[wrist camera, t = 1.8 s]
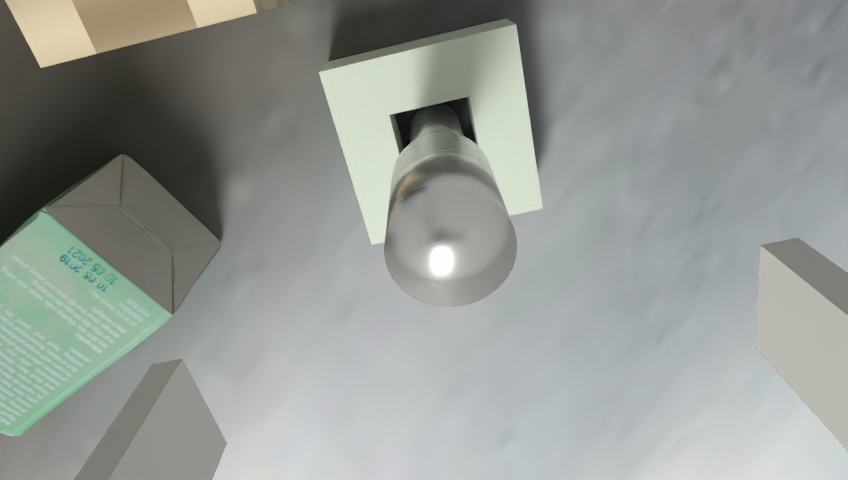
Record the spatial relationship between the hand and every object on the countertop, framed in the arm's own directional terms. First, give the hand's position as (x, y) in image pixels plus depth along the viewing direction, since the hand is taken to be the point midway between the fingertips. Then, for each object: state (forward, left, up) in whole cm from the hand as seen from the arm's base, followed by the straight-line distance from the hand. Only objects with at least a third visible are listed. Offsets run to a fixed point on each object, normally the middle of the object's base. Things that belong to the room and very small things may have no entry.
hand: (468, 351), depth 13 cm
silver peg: (0, 0, -19) cm, 19 cm away
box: (+3, -21, -19) cm, 29 cm away
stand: (0, 0, -19) cm, 19 cm away
